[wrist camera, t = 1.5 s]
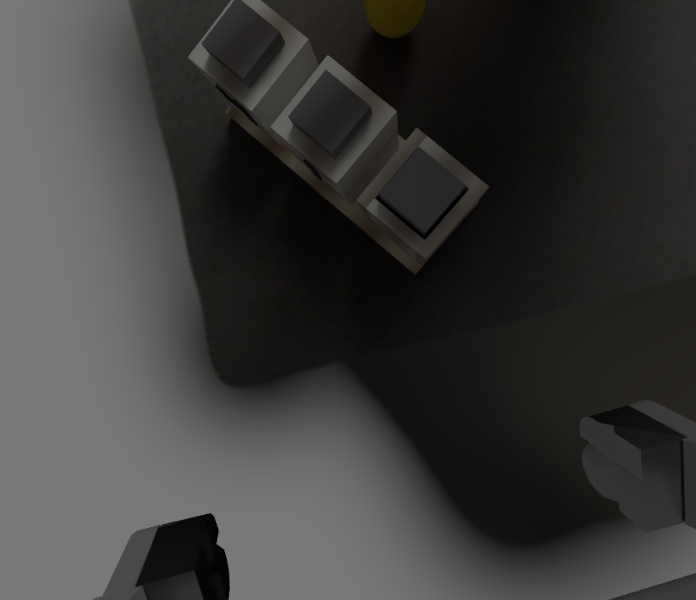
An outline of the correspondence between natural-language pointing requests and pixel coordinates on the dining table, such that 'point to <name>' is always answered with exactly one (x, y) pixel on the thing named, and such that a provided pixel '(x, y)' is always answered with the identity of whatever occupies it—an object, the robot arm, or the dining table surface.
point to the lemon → (394, 16)
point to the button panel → (323, 124)
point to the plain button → (421, 193)
